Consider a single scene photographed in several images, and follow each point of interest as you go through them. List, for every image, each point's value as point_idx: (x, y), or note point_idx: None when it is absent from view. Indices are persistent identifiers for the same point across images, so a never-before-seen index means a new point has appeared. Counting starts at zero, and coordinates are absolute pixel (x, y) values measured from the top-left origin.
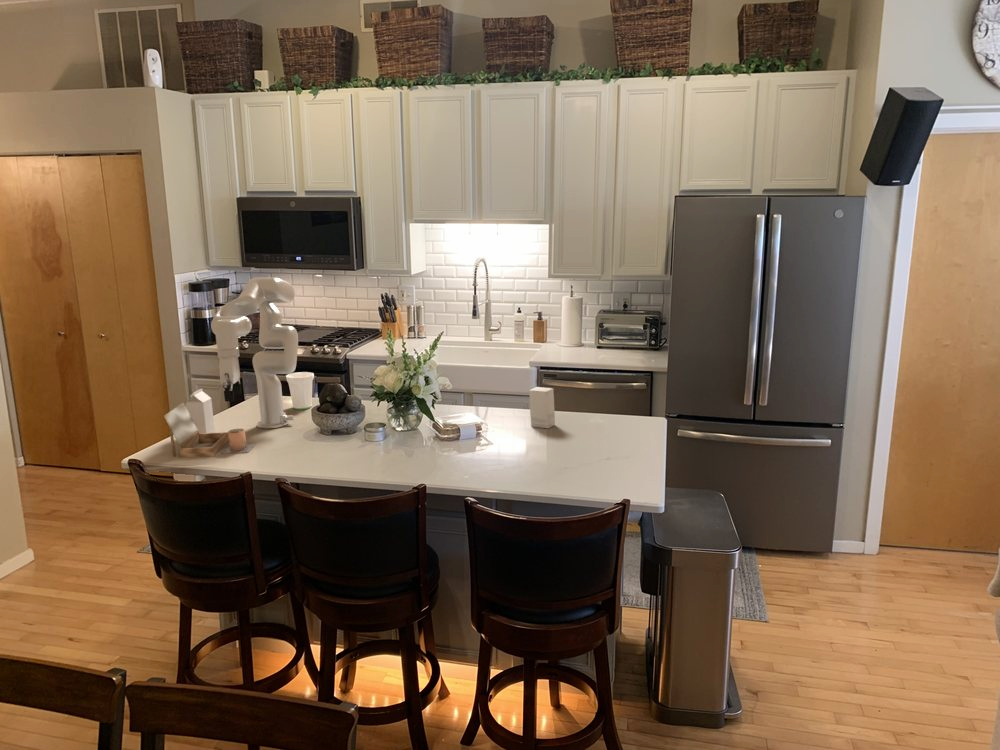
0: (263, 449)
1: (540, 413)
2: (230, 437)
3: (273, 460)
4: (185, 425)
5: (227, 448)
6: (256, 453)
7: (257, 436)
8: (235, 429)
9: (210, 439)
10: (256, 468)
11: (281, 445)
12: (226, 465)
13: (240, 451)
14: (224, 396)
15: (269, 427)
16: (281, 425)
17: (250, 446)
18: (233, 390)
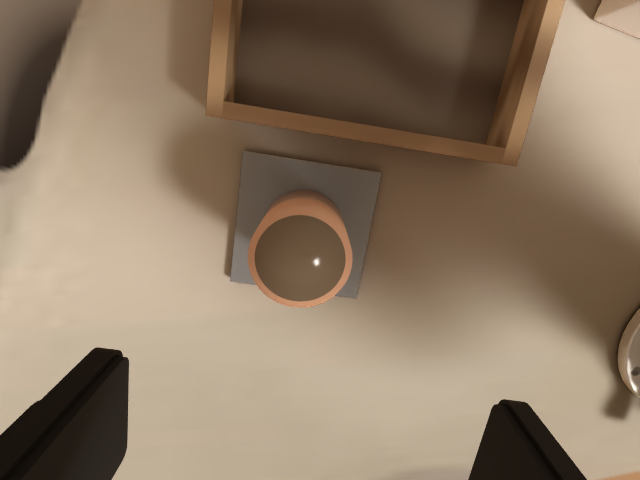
0: (284, 334)
1: None
2: (264, 217)
3: None
4: None
5: (322, 174)
6: (230, 311)
7: (512, 290)
8: (333, 250)
9: (515, 53)
10: (13, 331)
11: (323, 399)
12: (69, 200)
13: None
14: (48, 395)
15: (625, 337)
16: (629, 386)
17: None
18: (525, 471)
